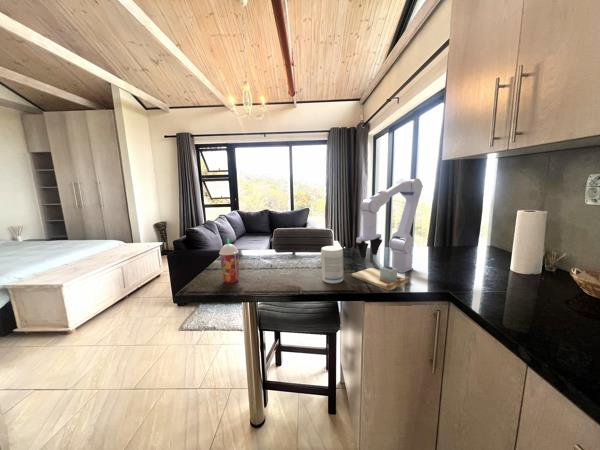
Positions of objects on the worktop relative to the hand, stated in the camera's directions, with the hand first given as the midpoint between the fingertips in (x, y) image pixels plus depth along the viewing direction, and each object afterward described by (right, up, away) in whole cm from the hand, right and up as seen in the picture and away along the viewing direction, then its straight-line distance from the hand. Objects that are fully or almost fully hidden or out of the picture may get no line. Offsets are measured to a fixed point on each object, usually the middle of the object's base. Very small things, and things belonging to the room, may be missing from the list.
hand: (368, 256), depth 109 cm
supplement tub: (-17, -11, -1) cm, 20 cm away
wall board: (+4, -10, -1) cm, 11 cm away
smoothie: (-62, -12, +1) cm, 63 cm away
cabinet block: (+7, -9, -6) cm, 13 cm away
